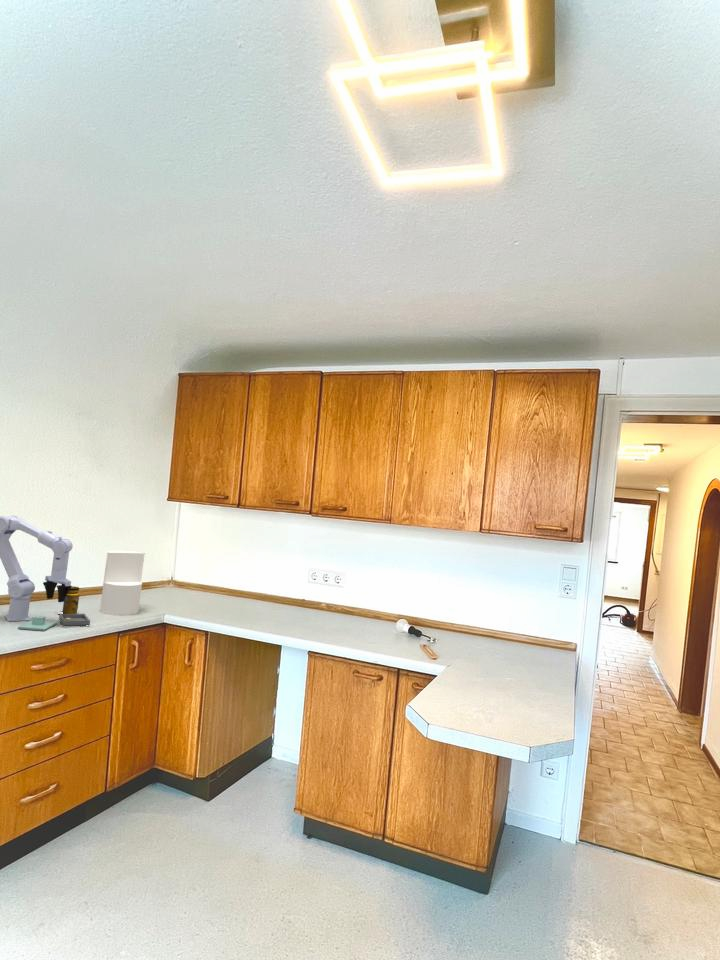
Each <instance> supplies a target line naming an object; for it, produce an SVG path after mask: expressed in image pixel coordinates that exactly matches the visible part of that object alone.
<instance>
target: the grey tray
mask: <svg viewBox="0 0 720 960" xmlns="http://www.w3.org/2000/svg"><path fill="white" fill-rule="evenodd" d="M58 616H59V617H58V621H59V620H60V621H59V622H61V623H60V625H61V626H62V625H63V626H80V627H87V626H86V625H91V619H90V618H89V617H88V615H86V614H85V613H78V614H60V615H58ZM63 626H62V627H63Z"/></svg>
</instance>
